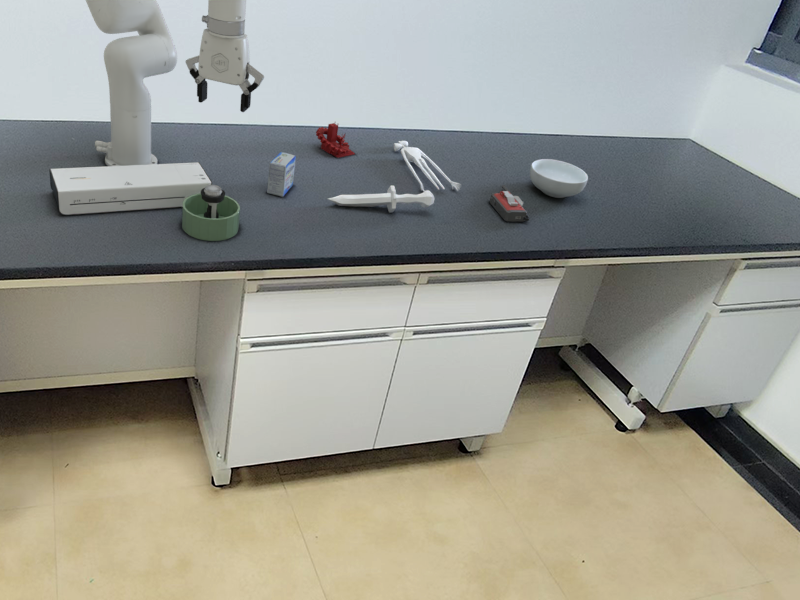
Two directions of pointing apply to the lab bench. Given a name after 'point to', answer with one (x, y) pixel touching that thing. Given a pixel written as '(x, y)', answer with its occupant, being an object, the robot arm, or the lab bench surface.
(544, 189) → the cereal bowl
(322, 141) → the diorama
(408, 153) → the alien
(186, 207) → the green round bowl
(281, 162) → the medicine box
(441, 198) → the lab bench surface
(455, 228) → the lab bench surface
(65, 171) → the laminator
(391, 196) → the dagger
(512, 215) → the walkie-talkie
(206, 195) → the push button
